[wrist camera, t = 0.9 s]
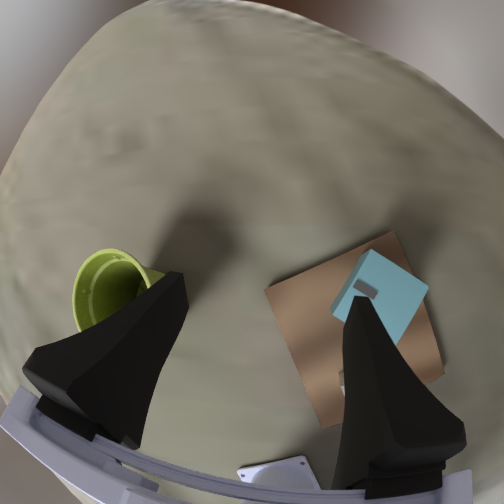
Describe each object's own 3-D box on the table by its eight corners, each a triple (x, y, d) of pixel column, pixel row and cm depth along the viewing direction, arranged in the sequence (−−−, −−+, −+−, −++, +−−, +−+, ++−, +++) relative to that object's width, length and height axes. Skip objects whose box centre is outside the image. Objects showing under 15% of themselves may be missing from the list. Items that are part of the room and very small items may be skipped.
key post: (360, 388, 23) (365, 403, 19) (346, 394, 23) (349, 410, 20) (352, 367, 23) (357, 379, 20) (338, 373, 23) (340, 386, 20)
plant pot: (199, 254, 29) (152, 244, 20) (202, 347, 28) (159, 370, 19) (125, 259, 31) (71, 252, 22) (129, 341, 30) (76, 354, 21)
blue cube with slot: (409, 285, 23) (430, 286, 18) (378, 338, 23) (392, 351, 18) (361, 254, 24) (371, 248, 19) (329, 308, 24) (332, 315, 19)
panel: (440, 370, 22) (444, 373, 21) (322, 423, 24) (322, 429, 23) (390, 231, 25) (394, 229, 24) (266, 289, 27) (263, 289, 26)
